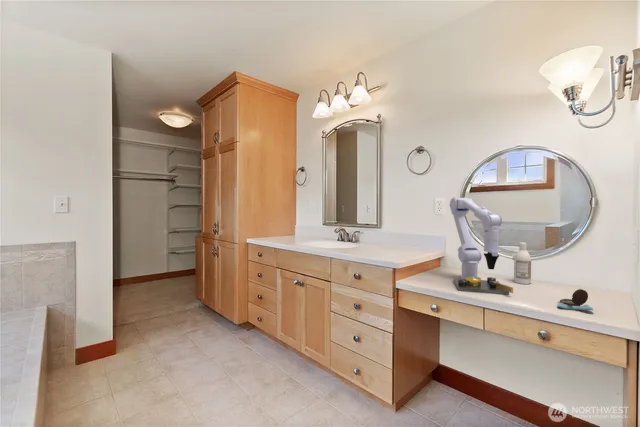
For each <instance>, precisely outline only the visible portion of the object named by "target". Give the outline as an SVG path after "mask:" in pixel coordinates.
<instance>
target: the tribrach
mask: <svg viewBox="0 0 640 427" xmlns="http://www.w3.org/2000/svg"><path fill="white" fill-rule="evenodd" d="M486 278H487V279H486V280H484V279H483V280H482V278H481V277H479V276H477V277H476V276H466V279H461V278H458V277H457V278H453V279H452V280H453V283H454V285H455V287H456V288H457V289H456V290H457V291H458V292H471V293H481V294H494V295H506V296H507V295H508V296H509V295H510V292H507V291H504V290H501V289H499V288H496V287H491V286H489V281H497V282H498V283H500V281H498V280H497V278H496V277H492V276H490V277H486Z"/></svg>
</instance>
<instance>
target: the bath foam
mask: <svg viewBox="0 0 640 427" xmlns="http://www.w3.org/2000/svg"><path fill="white" fill-rule="evenodd" d="M518 246H519V247H518V248H519V249H518V250H517V252H516V253H515V255H514V257H513V263H514V264H513V282H514V283H517V284H521V285H530V284H531V282H532V281H531V280H532V258H531V255H530V253H529V252H528V250H527V242H519V243H518Z"/></svg>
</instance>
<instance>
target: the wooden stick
mask: <svg viewBox="0 0 640 427" xmlns="http://www.w3.org/2000/svg"><path fill="white" fill-rule="evenodd" d="M497 281H498V280H496V281H489V286H491V287H496V288H499V289H501V290H504V291H507V292H509V294H510V293H511V294H513V293H514V287H511V286H509V285H507V284H503V283H501V282H499V281H498V282H499V283H498V282H497Z"/></svg>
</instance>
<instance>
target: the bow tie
mask: <svg viewBox="0 0 640 427" xmlns="http://www.w3.org/2000/svg"><path fill="white" fill-rule="evenodd" d="M558 307H559V308H561V309H564V310H573V311H577V310H578V311H593V310H594V308H593V307H591V306H590V305H588V304H583V305H580V306H571V305H566V304H563V303H560V302H559V303H557V308H558Z"/></svg>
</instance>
